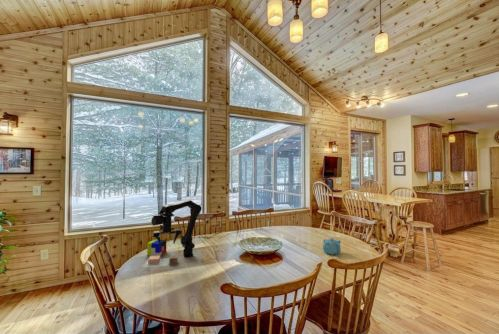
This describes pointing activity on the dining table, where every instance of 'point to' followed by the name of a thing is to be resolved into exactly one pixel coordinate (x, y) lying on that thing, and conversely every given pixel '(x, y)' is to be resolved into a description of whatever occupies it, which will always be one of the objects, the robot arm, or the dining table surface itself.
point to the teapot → (331, 246)
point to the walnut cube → (173, 260)
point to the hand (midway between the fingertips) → (167, 244)
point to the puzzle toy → (156, 247)
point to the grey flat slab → (162, 263)
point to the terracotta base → (154, 259)
